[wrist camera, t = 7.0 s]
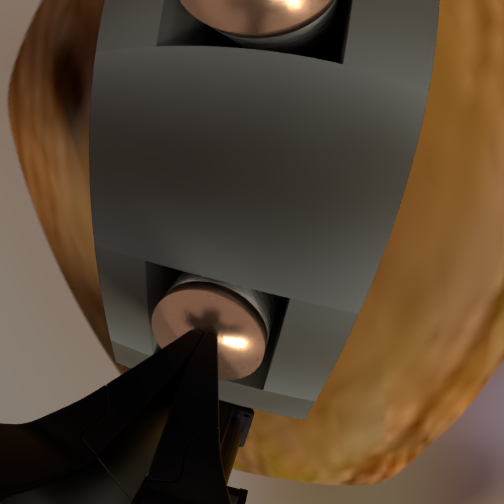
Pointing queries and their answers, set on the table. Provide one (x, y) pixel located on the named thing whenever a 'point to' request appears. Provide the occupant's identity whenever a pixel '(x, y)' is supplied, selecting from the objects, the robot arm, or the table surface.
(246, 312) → the rear peg
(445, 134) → the table surface
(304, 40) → the front peg
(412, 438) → the table surface
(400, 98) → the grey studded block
